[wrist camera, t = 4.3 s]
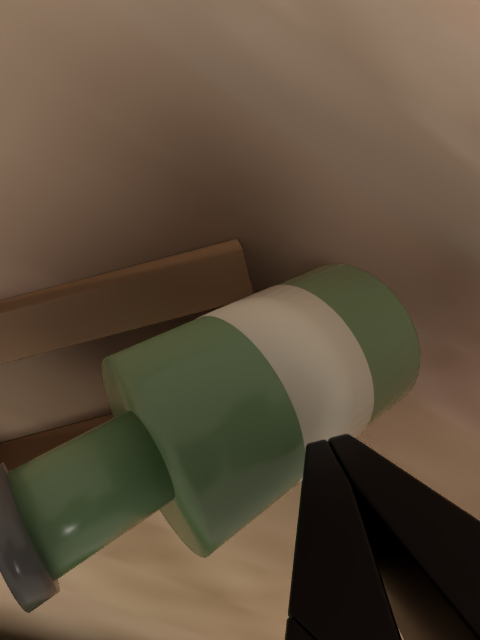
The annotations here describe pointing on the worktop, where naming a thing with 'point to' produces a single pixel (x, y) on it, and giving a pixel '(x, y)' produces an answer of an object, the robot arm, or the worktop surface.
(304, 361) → the bottle
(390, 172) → the worktop surface
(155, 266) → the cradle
